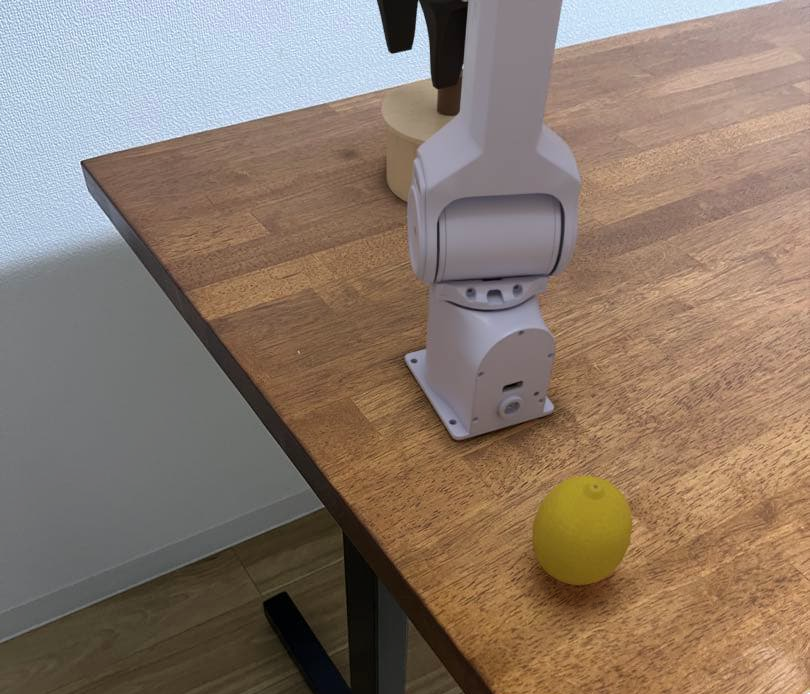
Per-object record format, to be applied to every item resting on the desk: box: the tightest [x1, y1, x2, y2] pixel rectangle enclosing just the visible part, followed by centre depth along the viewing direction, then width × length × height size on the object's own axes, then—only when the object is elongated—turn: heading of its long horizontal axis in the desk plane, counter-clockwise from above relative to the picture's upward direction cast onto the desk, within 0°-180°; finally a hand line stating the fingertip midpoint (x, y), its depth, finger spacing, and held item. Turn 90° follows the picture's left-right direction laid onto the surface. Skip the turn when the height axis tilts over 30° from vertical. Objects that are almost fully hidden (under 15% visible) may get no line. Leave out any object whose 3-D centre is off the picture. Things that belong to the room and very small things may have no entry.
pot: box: [386, 127, 421, 203], centre depth 75 cm, size 11×11×6 cm
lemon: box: [531, 475, 633, 586], centre depth 47 cm, size 6×6×8 cm
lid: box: [380, 68, 463, 145], centre depth 72 cm, size 12×12×4 cm
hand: (421, 67), depth 69 cm, fingers open, 7 cm apart
